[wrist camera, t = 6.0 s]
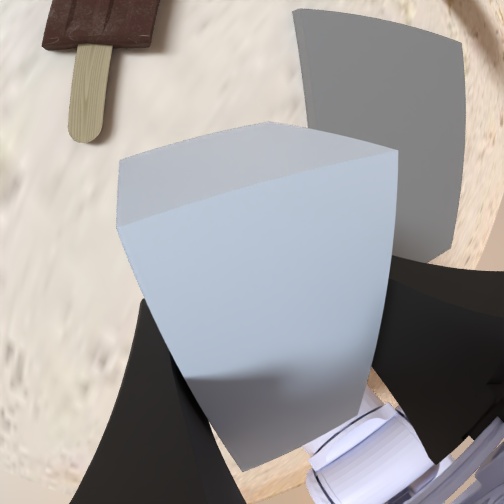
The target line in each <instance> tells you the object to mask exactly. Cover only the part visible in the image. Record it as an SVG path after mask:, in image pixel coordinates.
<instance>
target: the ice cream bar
mask: <svg viewBox="0 0 504 504" xmlns="http://www.w3.org/2000/svg"><path fill="white" fill-rule="evenodd" d="M159 2H160V0H53V1H52V4H51V8H50V12H49V15H48V19H47V23H46V28H45V32H44V37H43V41H42V47H43V48H45V49H46V50H57V49H71V48H77V53H76V59H75V65H74V72H73V79H72V87H71V96H70V106H69V119H68V132H69V134H70V136H71V137H72V138H73V139H74V140H75V141H77V142H79V143H87V142H90V141H92V140H94V139H95V138H96V137H97V136H98V135H99V133H100V132H101V130H102V126H103V117H104V106H105V97H106V88H107V81H108V74H109V67H110V61H111V55H112V49H113V48H125V49H128V48H140V47H149V46H150V43H151V39H152V34H153V29H154V24H155V19H156V15H157V10H158V6H159Z"/></svg>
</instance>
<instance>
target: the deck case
mask: <svg viewBox="0 0 504 504" xmlns="http://www.w3.org/2000/svg"><path fill="white" fill-rule="evenodd" d="M397 183H398V150H395V149H392V148H388V147H385V146H381V145H377V144H374V143H370V142H366V141H362V140H358V139H354V138H350V137H346V136H342V135H337V134H333V133H328V132H324V131H319V130H314V129H309V128H304V127H299V126H293V125H288V124H282V123H276V122H264V123H259V124H254V125H249V126H244V127H239V128H234V129H230V130H225V131H221V132H216V133H212V134H208V135H204V136H200V137H196V138H192V139H188V140H184V141H181V142H177V143H173V144H170V145H166V146H163V147H160V148H156V149H153V150H150V151H146V152H143V153H140V154H137V155H134V156H131V157H128V158H125V159H122V160H120V162H119V175H118V191H117V217H116V229H117V232H118V234H119V237H120V240H121V242H122V245H123V248H124V250H125V253H126V255H127V258H128V260H129V263H130V265H131V268H132V270H133V273H134V275H135V277H136V280H137V282H138V284H139V287H140V289H141V291H142V294H143V296H144V298H145V300H146V303H147V305H148V307H149V309H150V311H151V314H152V316H153V318H154V320H155V322H156V324H157V326H158V328H159V330H160V332H161V334H162V337H163V339H164V341H165V343H166V345H167V347H168V348H169V350H170V352H171V354H172V356H173V358H174V360H175V362H176V364H177V366H178V368H179V370H180V371H181V373H182V375H183V377H184V379H185V381H186V382H187V384H188V386H189V388H190V390H191V391H192V393H193V395H194V397H195V398H196V400H197V402H198V403H199V405H200V407H201V409H202V410H203V412H204V414H205V415H206V417H207V419H208V420H209V422H210V423H211V425H212V427H213V428H214V430H215V431H216V433H217V435H218V436H219V438H220V439H221V441H222V442H223V444H224V445H225V447H226V449H227V450H228V452H229V453H230V455H231V456H232V458H233V459H234V460H235V462H236V463H237V465H238V466H239V468H240V469H241V471H242V472H244V471H247V470H250V469H252V468H255V467H257V466H259V465H262V464H264V463H267V462H269V461H271V460H273V459H276V458H278V457H280V456H282V455H284V454H287V453H289V452H291V451H293V450H295V449H297V448H299V447H301V446H303V445H305V444H307V443H309V442H311V441H313V440H315V439H317V438H318V437H320V436H322V435H324V434H326V433H328V432H329V431H331V430H333V429H335V428H337V427H338V426H340V425H342V424H343V423H345V422H347V421H348V420H350V419H352V418H353V417H355V416H357V415H358V412H359V409H360V406H361V402H362V399H363V395H364V392H365V388H366V385H367V381H368V377H369V373H370V369H371V365H372V361H373V357H374V353H375V348H376V344H377V339H378V334H379V330H380V325H381V320H382V314H383V309H384V303H385V297H386V291H387V285H388V278H389V271H390V264H391V256H392V247H393V238H394V228H395V216H396V202H397Z"/></svg>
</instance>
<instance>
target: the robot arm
mask: <svg viewBox="0 0 504 504" xmlns="http://www.w3.org/2000/svg"><path fill="white" fill-rule="evenodd" d="M371 366H372V367H373V369H374V370H375V371H376V373H377V374H378V376H379V377H380V378H381V380H382V381H383V382H384V384H385V385H386V386H387V388H388V389H389V391H390V392H391V394H392V395H393V397H394V398H395V399H396V401H397V402H398V404H399V406H397V407H396V408H395V409H394V408H393V407H392V405H391V404H390V403H389V402H388V403H386V404H384V403H383V402H382V401H381V400H380V399H379V398H378V396H377V395H376V394H375V393H374V392H373V391H372V390H371V388H370V387H369V386H368V385H366V388H365V392H364V395H363V399H362V402H361V406H360V409H359V412H358V415H357V416H355V417H353V418H352V419H350V420H348V421H347V422H345V423H343V424H342V425H340V426H338V427H337V428H335V429H333V430H331V431H329V432H328V433H326V434H324V435H322V436H320V437H318V438H317V439H315V440H313V441H311V442H309V443H307V444H305V445H303V446H302V448H303V449H304V450H305V451H306V452H307V453H308V454H309V455H310V456H311V458H310V459H308V461H309V463H310V464H311V466H312V467H313V468H311V469H309V470H308V471H307V477H306V486H307V489H308V491H309V493H310V495H311V497H312V499H313V500H314V502H315V503H316V504H444V503H445V500H446V499H447V498H449V497H450V496H451V495H452V494H453V493H454V492H455V491H456V490H457V489H458V488H459V487H460V486H461V485H462V484H463V483H464V482H465V481H466V480H467V479H468V478H469V477H470V476H471V475H472V474H473V473H474V472H475V471H476V470H477V469H478V468H479V469H478V470H477V472H476V474H475V478H476V479H477V480H476V481H475V482H474V483H473V484H472V485H471V486H470V487H468V488H467V490H465V491H464V492H463V493H462V494H461V495H460V496H459V497H458V498H456V499H455V500H454V501H453V502H452V503H451V504H504V442H502V443H501V444H500V445H499V446H498V447H497V445H498V444H499V443H500V442H501V440H502V439H503V438H504V271H477V270H467V269H457V268H450V267H444V266H438V265H433V264H427V263H422V262H418V261H414V260H410V259H406V258H402V257H398V256H394V255H392V256H391V264H390V271H389V278H388V285H387V291H386V297H385V303H384V309H383V314H382V320H381V325H380V330H379V334H378V339H377V344H376V348H375V353H374V357H373V361H372V365H371ZM468 436H470V437H471V438H472V439H473V440H474V442H473V443H472V444H471V445H470V446H469V447H468V448H467V449H466V450H465V451H464V453H462V454H461V455H460V457H458V458H457V459H456V460H454V459H453V457H452V456H451V454H450V453H451V452H452V451H453V450H454V449H455V448H457V447H458V446H459V445H460V444H461V443H462V442H463V441H464V440H465V439H466V438H467V437H468ZM496 447H497V448H496ZM495 448H496V449H495ZM494 449H495V450H494ZM493 450H494V451H493ZM480 465H481V466H480ZM479 466H480V467H479ZM69 504H246V502H245V500H244V498H243V496H242V494H241V493H240V491H239V489H238V487H237V485H236V483H235V481H234V479H233V477H232V475H231V473H230V471H229V469H228V467H227V465H226V463H225V461H224V459H223V456H222V454H221V452H220V450H219V448H218V446H217V443H216V441H215V438H214V436H213V433H212V430H211V427H210V424H209V421H208V419H207V417H206V415H205V414H204V412H203V410H202V409H201V407H200V405H199V403H198V402H197V400H196V398H195V397H194V395H193V393H192V391H191V390H190V388H189V386H188V384H187V382H186V381H185V379H184V377H183V375H182V373H181V371H180V370H179V368H178V366H177V364H176V362H175V360H174V358H173V356H172V354H171V352H170V350H169V348H168V347H167V345H166V343H165V341H164V339H163V337H162V334H161V332H160V330H159V328H158V326H157V324H156V322H155V320H154V318H153V316H152V314H151V311H150V309H149V307H148V305H147V303H146V300H145V298H144V299H142V301H141V303H140V308H139V315H138V320H137V325H136V330H135V335H134V339H133V343H132V347H131V351H130V356H129V359H128V363H127V366H126V370H125V373H124V377H123V380H122V384H121V387H120V390H119V393H118V397H117V399H116V402H115V405H114V408H113V411H112V414H111V416H110V419H109V422H108V424H107V426H106V429H105V431H104V434H103V436H102V439H101V441H100V444H99V446H98V448H97V451H96V453H95V455H94V457H93V459H92V461H91V463H90V465H89V467H88V469H87V471H86V473H85V475H84V477H83V479H82V481H81V483H80V485H79V487H78V489H77V491H76V493H75V495H74V497H73V498H72V500H71V502H70V503H69Z"/></svg>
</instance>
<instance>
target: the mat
mask: <svg viewBox="0 0 504 504" xmlns="http://www.w3.org/2000/svg"><path fill="white" fill-rule="evenodd" d="M292 13H293V18H294V24H295V30H296V36H297V43H298V49H299V56H300V63H301V70H302V78H303V86H304V94H305V102H306V111H307V120H308V128H309V129H314V130H319V131H324V132H328V133H333V134H337V135H342V136H346V137H350V138H354V139H358V140H362V141H366V142H370V143H374V144H377V145H381V146H385V147H388V148H392V149H395V150H398V183H397V202H396V216H395V228H394V238H393V247H392V255H394V256H398V257H402V258H406V259H410V260H414V261H418V262H422V263H427V262H429V261H431V260H432V259H434V258H436V257H437V256H439V255H440V254H442V253H444V252H445V251H447V250H449V249H450V248H451V244H452V240H453V235H454V229H455V224H456V218H457V212H458V205H459V198H460V191H461V183H462V173H463V162H464V148H465V124H466V98H465V75H464V61H463V51H462V43H461V42H458V41H455V40H453V39H450V38H447V37H444V36H441V35H438V34H435V33H432V32H429V31H425V30H422V29H418V28H415V27H411V26H407V25H403V24H399V23H395V22H391V21H387V20H382V19H377V18H372V17H367V16H361V15H355V14H348V13H341V12H333V11H324V10H313V9H297V10H295V11H292Z"/></svg>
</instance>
